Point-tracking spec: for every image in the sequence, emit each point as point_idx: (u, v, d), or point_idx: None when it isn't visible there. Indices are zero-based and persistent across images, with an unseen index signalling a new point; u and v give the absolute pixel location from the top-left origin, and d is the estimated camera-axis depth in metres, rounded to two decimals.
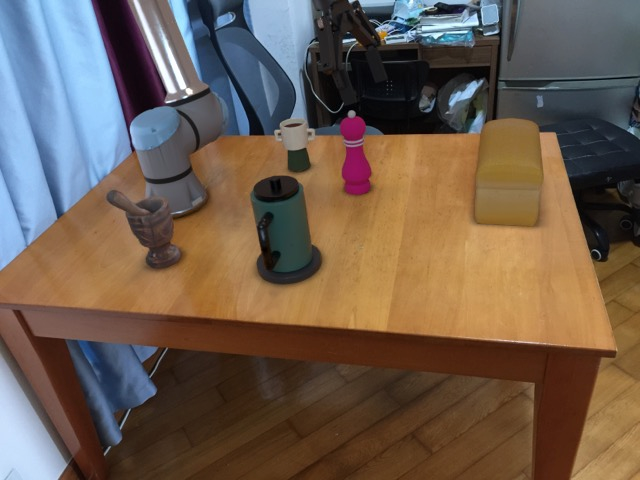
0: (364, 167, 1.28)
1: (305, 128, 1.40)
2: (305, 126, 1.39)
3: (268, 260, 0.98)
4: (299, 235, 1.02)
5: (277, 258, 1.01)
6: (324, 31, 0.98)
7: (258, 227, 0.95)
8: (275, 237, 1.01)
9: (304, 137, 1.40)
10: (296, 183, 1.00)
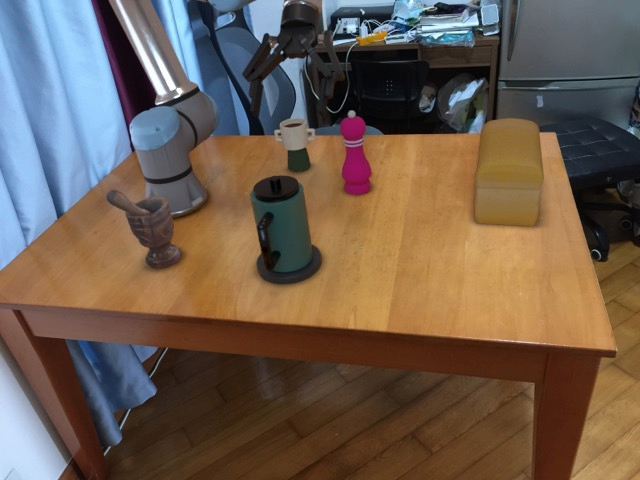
0: (364, 167, 1.28)
1: (305, 128, 1.40)
2: (305, 126, 1.39)
3: (268, 260, 0.98)
4: (299, 235, 1.02)
5: (277, 258, 1.01)
6: None
7: (258, 227, 0.95)
8: (275, 237, 1.01)
9: (304, 137, 1.40)
10: (296, 183, 1.00)
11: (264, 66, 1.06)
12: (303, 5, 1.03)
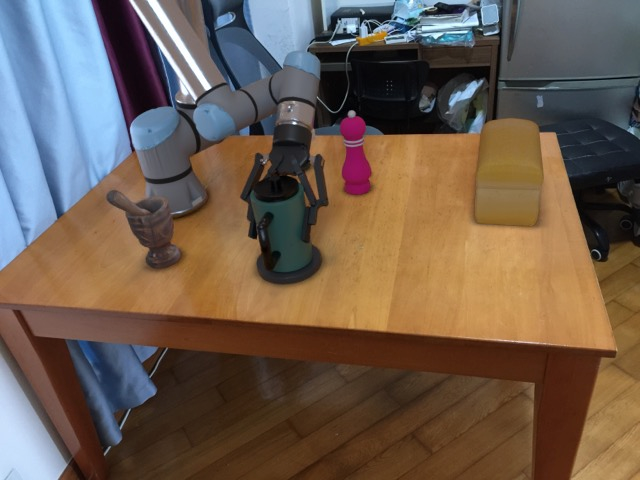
0: (364, 167, 1.28)
1: None
2: None
3: (268, 260, 0.98)
4: (299, 235, 1.02)
5: (277, 258, 1.01)
6: None
7: (258, 227, 0.95)
8: (275, 237, 1.01)
9: None
10: (296, 183, 1.00)
11: None
12: (295, 126, 1.04)
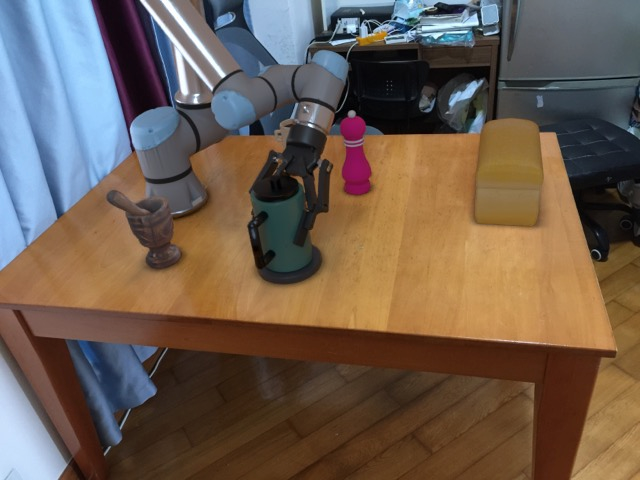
0: (364, 167, 1.28)
1: None
2: None
3: (258, 259, 0.99)
4: None
5: (270, 258, 1.02)
6: None
7: (248, 226, 0.96)
8: (270, 236, 1.01)
9: None
10: (295, 185, 1.00)
11: None
12: (306, 128, 1.02)
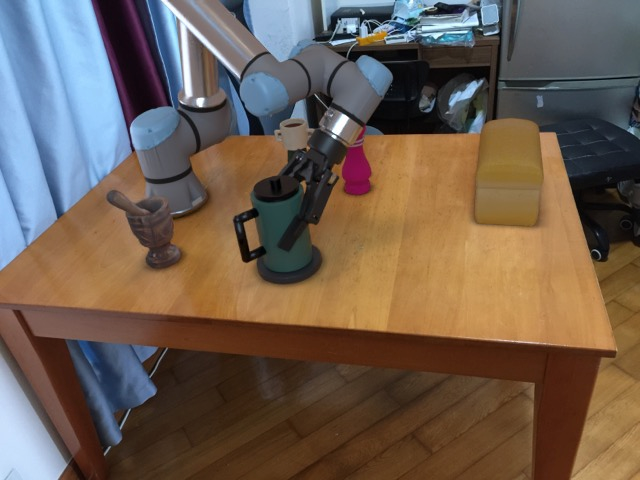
0: (364, 167, 1.28)
1: (305, 128, 1.40)
2: (305, 126, 1.39)
3: (242, 252, 1.02)
4: None
5: (258, 254, 1.03)
6: None
7: (233, 219, 0.98)
8: (261, 234, 1.02)
9: (304, 137, 1.40)
10: (291, 189, 0.98)
11: None
12: (322, 135, 0.99)
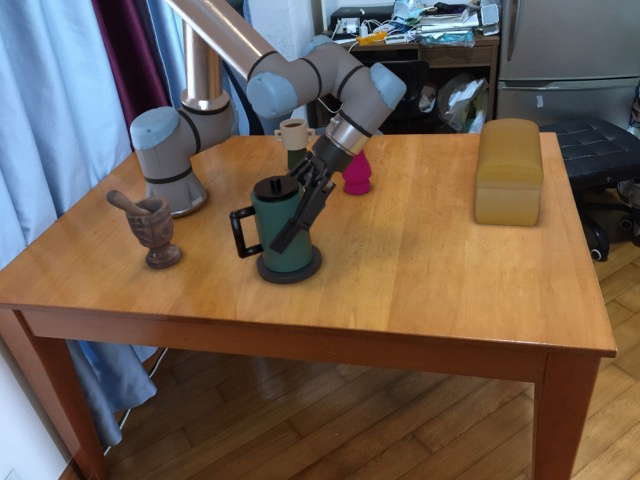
0: (364, 167, 1.28)
1: (305, 128, 1.40)
2: (305, 126, 1.39)
3: (237, 248, 1.03)
4: None
5: (254, 251, 1.04)
6: None
7: (229, 214, 1.00)
8: (258, 232, 1.03)
9: (304, 137, 1.40)
10: (288, 191, 0.98)
11: None
12: (325, 141, 0.97)
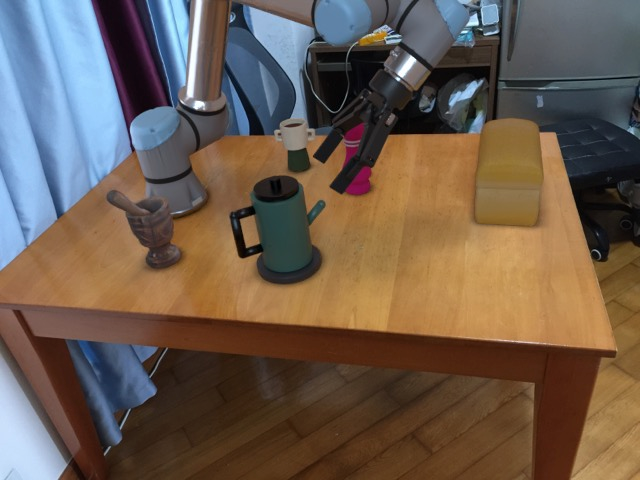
0: (364, 167, 1.28)
1: (305, 128, 1.40)
2: (305, 126, 1.39)
3: (237, 248, 1.03)
4: (278, 241, 1.01)
5: (254, 251, 1.04)
6: None
7: (229, 214, 1.00)
8: (258, 232, 1.03)
9: (304, 137, 1.40)
10: (288, 191, 0.98)
11: (343, 120, 1.04)
12: (384, 75, 0.93)
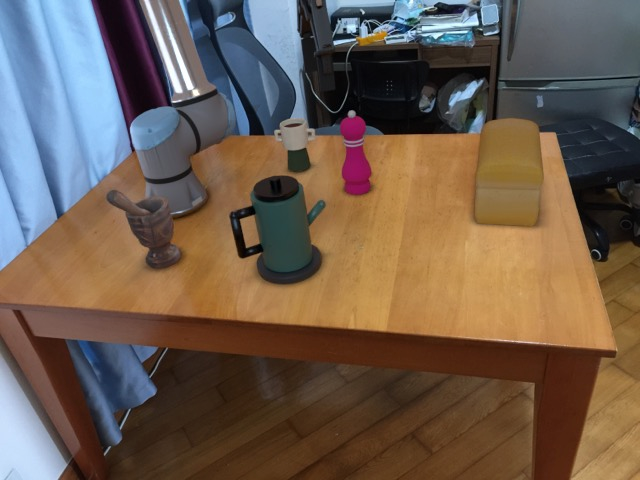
0: (364, 167, 1.28)
1: (305, 128, 1.40)
2: (305, 126, 1.39)
3: (237, 248, 1.03)
4: (278, 241, 1.01)
5: (254, 251, 1.04)
6: None
7: (229, 214, 1.00)
8: (258, 232, 1.03)
9: (304, 137, 1.40)
10: (288, 191, 0.98)
11: (301, 25, 1.05)
12: None
